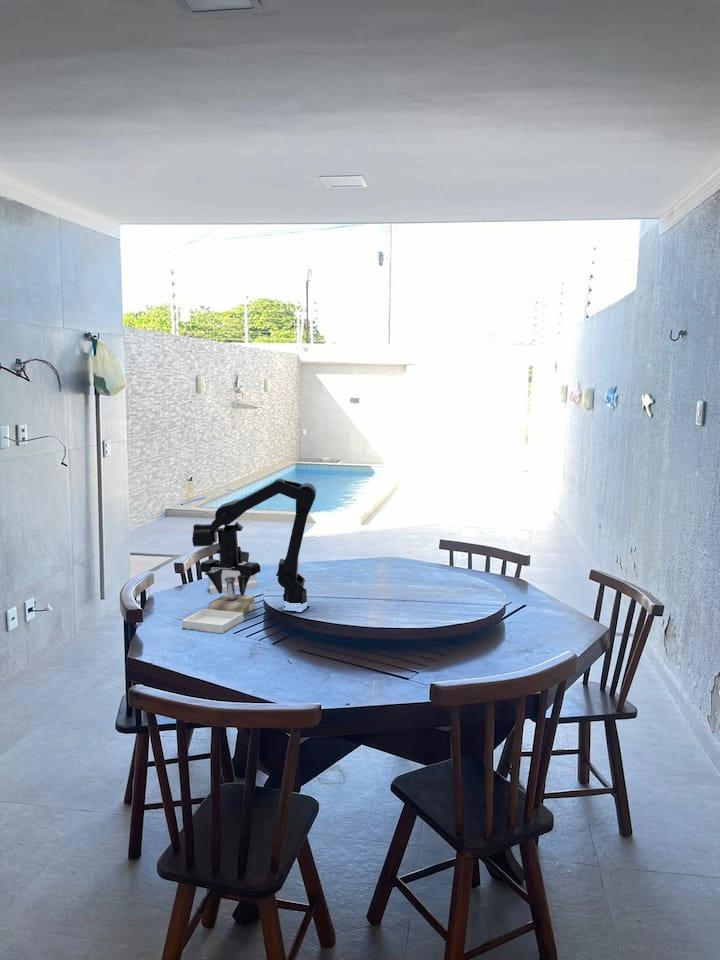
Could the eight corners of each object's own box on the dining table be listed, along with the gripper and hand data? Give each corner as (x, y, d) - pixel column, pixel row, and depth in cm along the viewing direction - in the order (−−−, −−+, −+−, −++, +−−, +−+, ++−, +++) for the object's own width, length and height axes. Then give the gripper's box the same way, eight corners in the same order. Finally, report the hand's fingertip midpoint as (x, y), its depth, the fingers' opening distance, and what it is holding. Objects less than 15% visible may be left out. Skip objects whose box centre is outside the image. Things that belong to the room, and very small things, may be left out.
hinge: (209, 593, 257) (206, 564, 259) (208, 594, 261) (205, 565, 263) (258, 587, 262) (255, 558, 264) (256, 588, 266) (253, 559, 268)
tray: (243, 621, 228) (243, 613, 228) (223, 633, 218) (222, 625, 218) (204, 616, 234) (203, 608, 233) (182, 628, 224) (181, 620, 224)
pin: (239, 610, 238) (237, 577, 236) (234, 613, 235) (231, 579, 234) (231, 609, 239) (228, 576, 238) (225, 612, 237) (223, 579, 235)
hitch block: (255, 608, 240) (254, 595, 239) (237, 618, 231) (236, 605, 230) (227, 605, 244) (227, 593, 243) (209, 615, 235) (208, 602, 234)
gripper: (268, 540, 238) (271, 589, 240) (217, 537, 245) (220, 584, 248) (249, 549, 228) (252, 600, 230) (196, 545, 235) (200, 594, 237)
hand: (231, 594), depth 237 cm, fingers open, 8 cm apart
